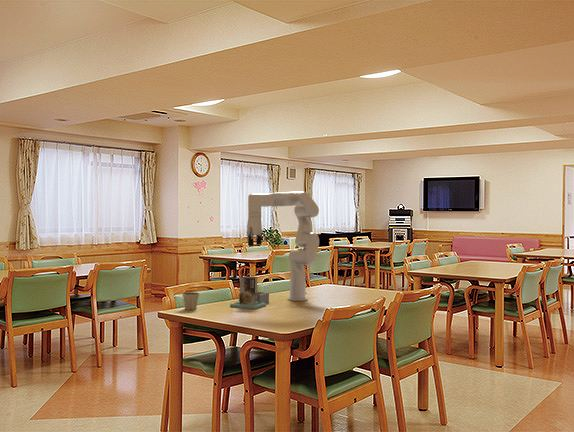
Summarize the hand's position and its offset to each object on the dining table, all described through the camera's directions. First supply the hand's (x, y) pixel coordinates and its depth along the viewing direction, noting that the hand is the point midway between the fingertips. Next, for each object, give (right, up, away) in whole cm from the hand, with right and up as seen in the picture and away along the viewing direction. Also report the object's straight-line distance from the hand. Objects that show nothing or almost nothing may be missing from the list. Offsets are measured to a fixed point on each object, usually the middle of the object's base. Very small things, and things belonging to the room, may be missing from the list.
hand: (254, 245), depth 320 cm
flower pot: (-35, -35, -14) cm, 51 cm away
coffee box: (-4, -34, -2) cm, 35 cm away
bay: (-2, -35, +10) cm, 36 cm away
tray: (-4, -35, -2) cm, 35 cm away
